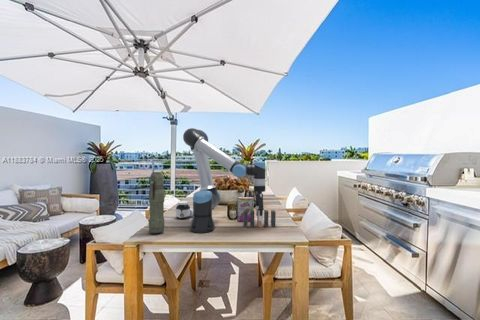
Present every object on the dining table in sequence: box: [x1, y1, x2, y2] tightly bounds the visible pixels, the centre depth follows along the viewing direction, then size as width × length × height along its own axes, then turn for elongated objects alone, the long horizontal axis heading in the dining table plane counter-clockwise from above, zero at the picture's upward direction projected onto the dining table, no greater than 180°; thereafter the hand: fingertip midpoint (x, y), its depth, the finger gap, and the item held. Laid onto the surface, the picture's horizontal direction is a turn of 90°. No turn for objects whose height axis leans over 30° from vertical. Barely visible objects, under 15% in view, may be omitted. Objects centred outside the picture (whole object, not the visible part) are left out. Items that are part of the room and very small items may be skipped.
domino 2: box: [249, 209, 255, 228], centre depth 160 cm, size 2×5×10 cm, turn 3°
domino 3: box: [256, 210, 262, 228], centre depth 160 cm, size 2×5×10 cm, turn 3°
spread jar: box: [175, 200, 193, 220], centre depth 183 cm, size 12×11×12 cm
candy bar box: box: [236, 196, 255, 223], centre depth 174 cm, size 11×5×16 cm, turn 84°
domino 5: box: [270, 209, 277, 228], centre depth 161 cm, size 2×5×10 cm, turn 3°
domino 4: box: [263, 209, 269, 228], centre depth 161 cm, size 2×5×10 cm, turn 3°
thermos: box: [148, 171, 165, 234], centre depth 148 cm, size 9×12×35 cm
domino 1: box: [243, 210, 248, 228], centre depth 160 cm, size 2×5×10 cm, turn 3°
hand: (259, 218), depth 160 cm, fingers open, 13 cm apart
